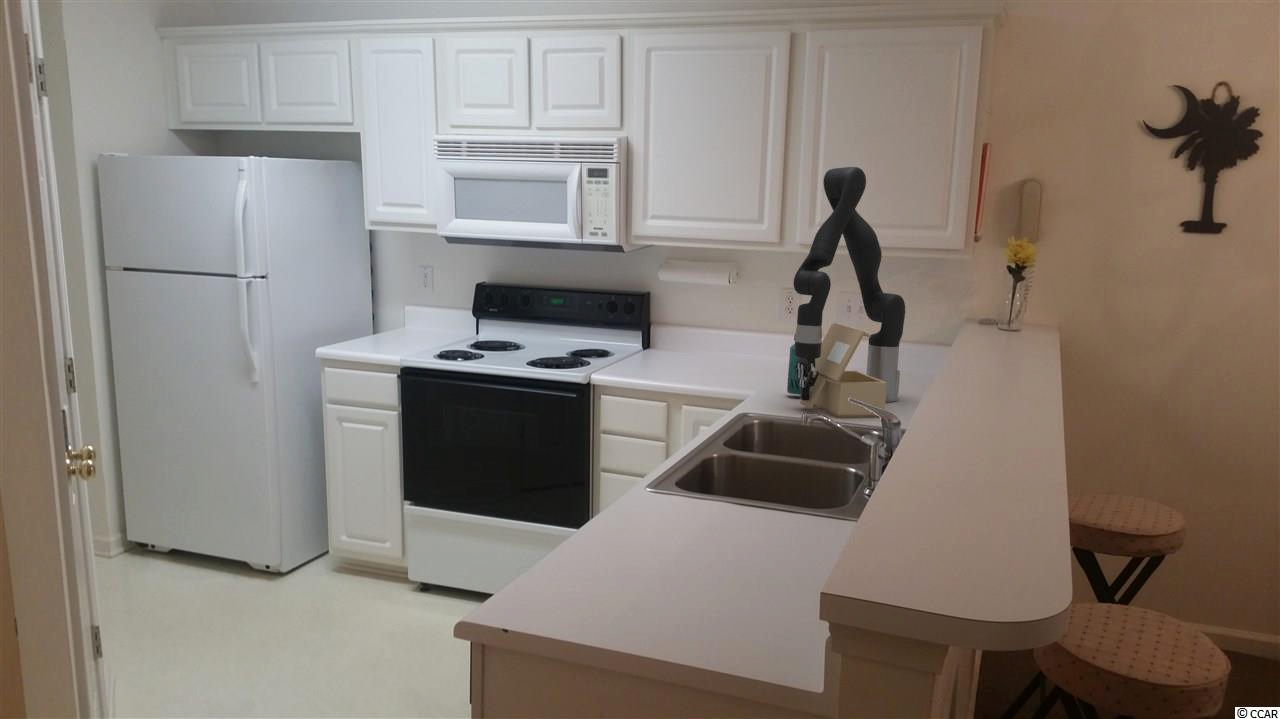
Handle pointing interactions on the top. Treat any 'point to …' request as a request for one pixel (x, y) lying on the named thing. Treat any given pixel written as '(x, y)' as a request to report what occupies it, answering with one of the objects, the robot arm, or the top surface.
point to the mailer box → (852, 395)
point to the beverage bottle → (793, 373)
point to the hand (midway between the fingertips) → (804, 399)
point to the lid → (834, 357)
